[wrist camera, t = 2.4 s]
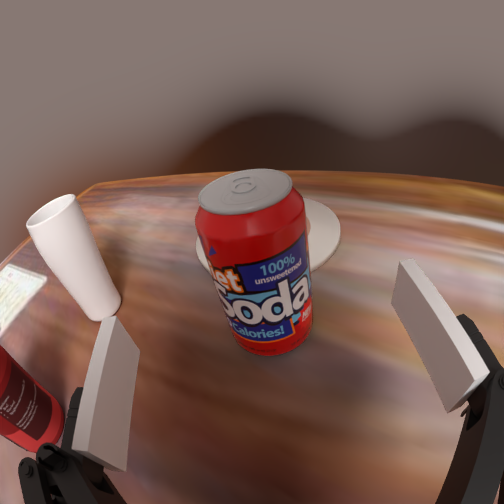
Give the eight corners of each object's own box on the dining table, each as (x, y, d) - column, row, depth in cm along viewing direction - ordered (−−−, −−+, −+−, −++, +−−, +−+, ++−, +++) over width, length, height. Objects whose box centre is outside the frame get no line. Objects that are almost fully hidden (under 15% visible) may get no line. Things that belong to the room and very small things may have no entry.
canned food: (14, 412, 22) (-49, 353, 16) (58, 385, 26) (-4, 319, 19) (25, 464, 17) (-55, 411, 11) (74, 439, 20) (-6, 377, 14)
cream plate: (337, 198, 47) (336, 192, 46) (343, 284, 32) (344, 277, 31) (220, 204, 52) (218, 199, 52) (176, 284, 37) (174, 277, 36)
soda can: (302, 292, 32) (287, 157, 23) (322, 350, 26) (317, 199, 17) (231, 307, 32) (191, 178, 23) (237, 368, 26) (183, 227, 17)
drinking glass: (86, 335, 32) (20, 235, 23) (82, 304, 37) (29, 212, 28) (132, 313, 34) (74, 205, 25) (122, 283, 39) (76, 187, 30)
